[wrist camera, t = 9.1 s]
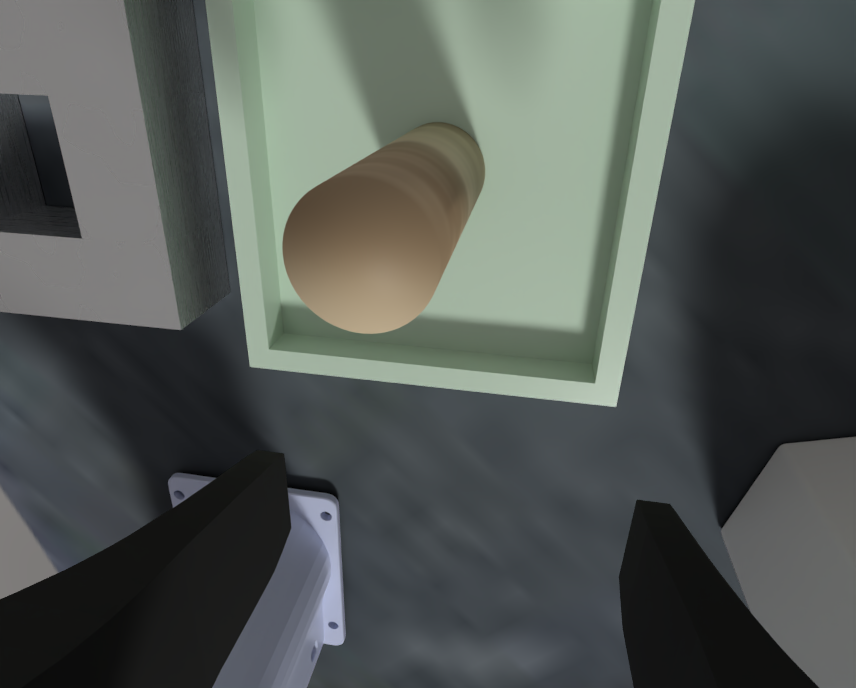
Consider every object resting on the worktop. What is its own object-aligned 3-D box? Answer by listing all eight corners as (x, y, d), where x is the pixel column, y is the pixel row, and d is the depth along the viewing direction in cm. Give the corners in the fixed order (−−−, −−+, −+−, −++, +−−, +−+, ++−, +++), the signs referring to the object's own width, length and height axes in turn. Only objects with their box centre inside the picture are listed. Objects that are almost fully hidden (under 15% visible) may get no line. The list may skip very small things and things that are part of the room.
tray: (610, 378, 22) (616, 406, 20) (272, 343, 23) (249, 366, 22) (696, -91, 15) (716, -110, 14) (228, -88, 17) (192, -105, 15)
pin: (482, 221, 19) (437, 340, 11) (392, 215, 20) (289, 326, 12) (488, 124, 18) (442, 181, 10) (391, 120, 18) (275, 172, 10)
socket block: (230, 292, 23) (181, 330, 20) (1, 272, 24) (-79, 303, 21) (190, -9, 18) (119, -23, 15) (-87, -13, 20) (-204, -26, 17)
